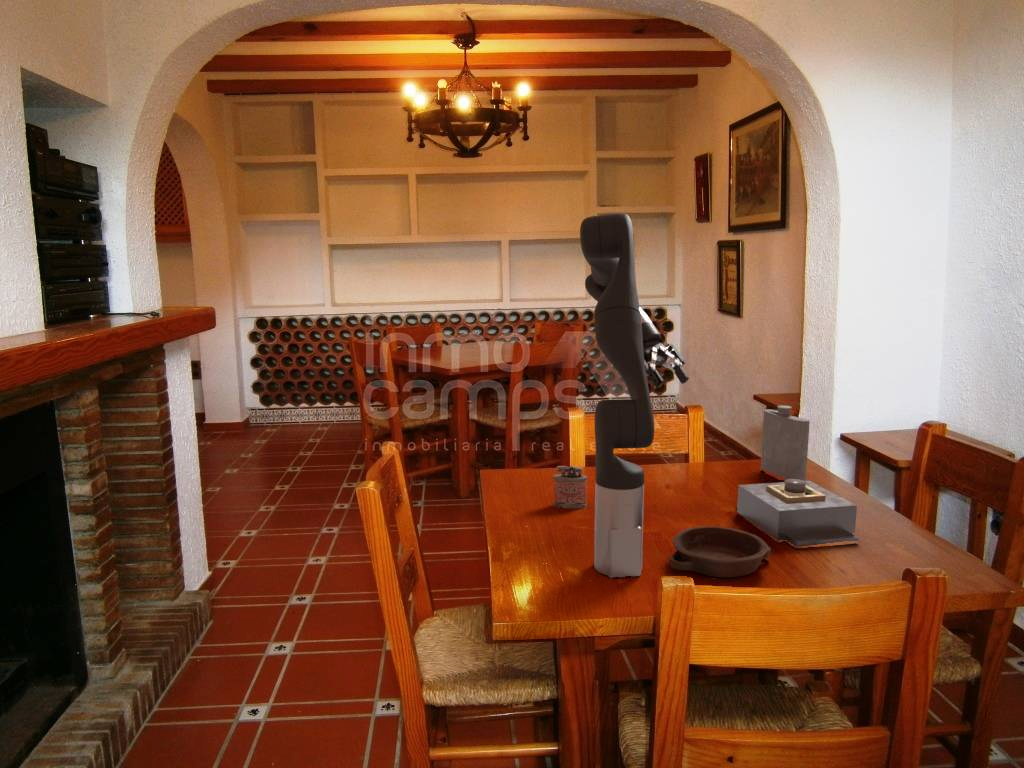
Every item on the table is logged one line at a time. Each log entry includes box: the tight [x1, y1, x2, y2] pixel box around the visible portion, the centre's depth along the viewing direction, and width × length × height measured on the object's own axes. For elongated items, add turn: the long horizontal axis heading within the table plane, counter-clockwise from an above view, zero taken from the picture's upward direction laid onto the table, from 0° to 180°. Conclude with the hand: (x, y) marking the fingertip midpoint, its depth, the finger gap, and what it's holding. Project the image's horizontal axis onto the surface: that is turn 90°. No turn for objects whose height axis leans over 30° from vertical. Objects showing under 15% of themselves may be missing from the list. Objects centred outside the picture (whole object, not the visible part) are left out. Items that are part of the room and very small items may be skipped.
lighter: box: [553, 464, 588, 509], centre depth 178 cm, size 8×3×10 cm, turn 84°
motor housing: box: [736, 480, 859, 547], centre depth 165 cm, size 26×18×8 cm
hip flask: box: [760, 405, 810, 481], centre depth 199 cm, size 16×4×20 cm, turn 21°
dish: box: [669, 525, 772, 578], centre depth 144 cm, size 18×22×5 cm
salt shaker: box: [784, 479, 806, 496], centre depth 165 cm, size 4×4×10 cm
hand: (673, 383), depth 172 cm, fingers open, 8 cm apart
